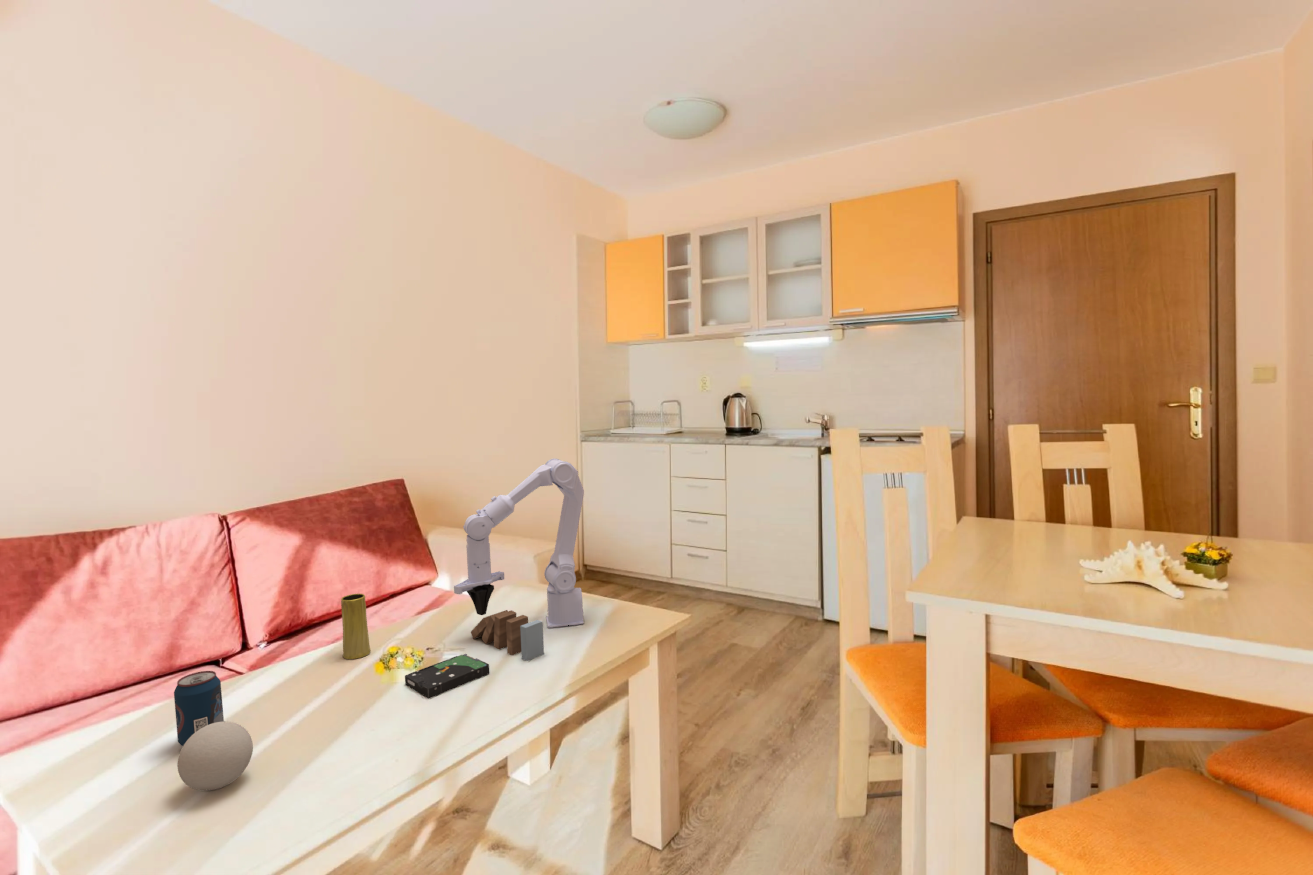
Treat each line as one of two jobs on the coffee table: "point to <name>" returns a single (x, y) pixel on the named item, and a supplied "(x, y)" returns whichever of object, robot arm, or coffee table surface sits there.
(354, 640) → the vase
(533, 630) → the domino
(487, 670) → the disk drive
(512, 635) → the domino
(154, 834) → the coffee table surface
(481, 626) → the pushed domino
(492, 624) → the domino
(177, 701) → the soda can
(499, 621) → the brown wooden block
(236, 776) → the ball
